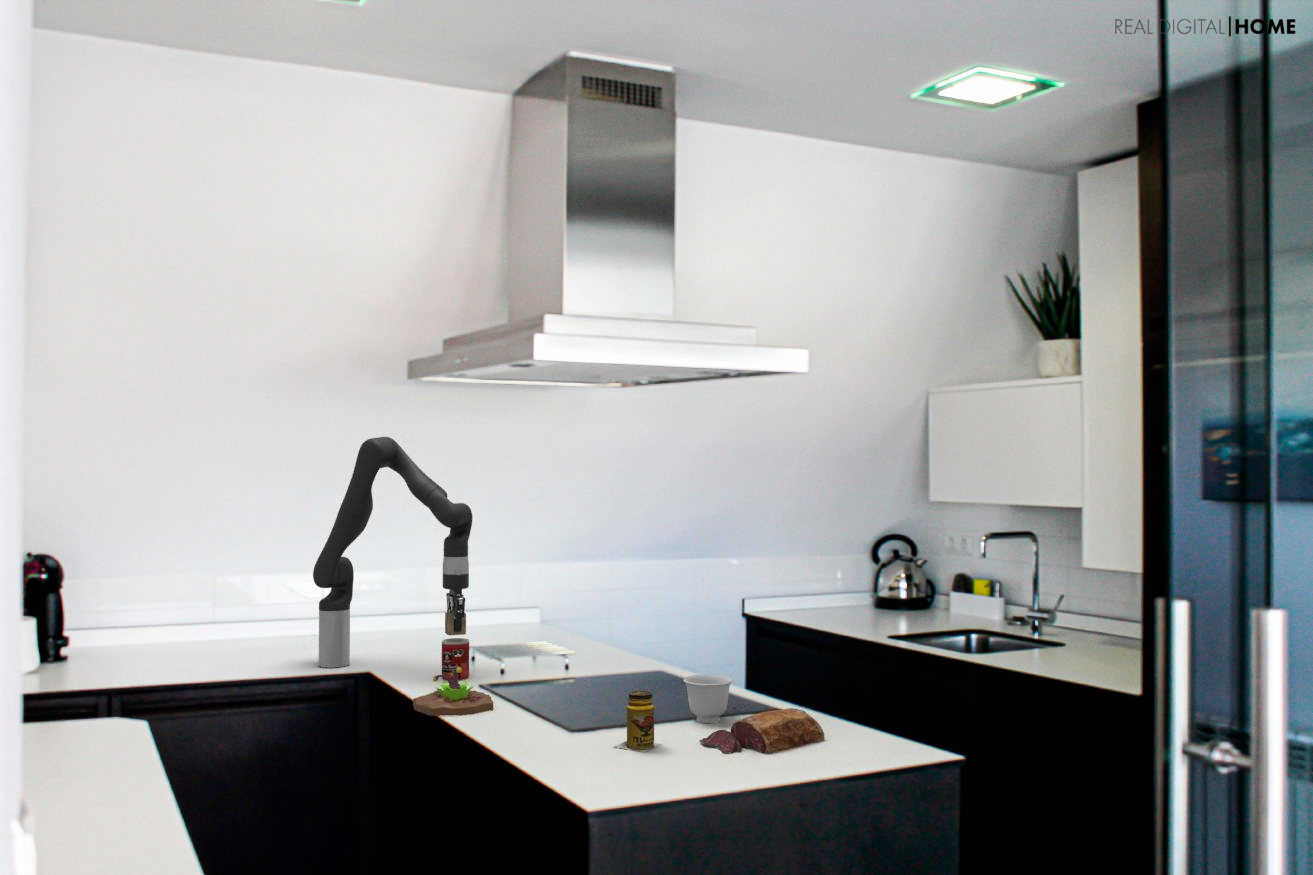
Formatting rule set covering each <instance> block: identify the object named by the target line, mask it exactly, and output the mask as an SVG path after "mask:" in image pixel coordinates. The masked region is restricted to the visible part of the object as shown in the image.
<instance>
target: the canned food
mask: <svg viewBox="0 0 1313 875" xmlns="http://www.w3.org/2000/svg"><path fill="white" fill-rule="evenodd" d="M456 666H460V667H461V669H462V671H461V673H457V678H458V681H464V680H467V679H469V676H470V639H468V638H462V637H459V638H458V637H454V638H452V637H451V638H445V639H443V640H441V675H445V676H447V677H448V678H449V679H451V680H453V676H452V675H451V673H450V672H451V669H454V670H455V667H456ZM441 679H442V680H445V681H447V680H446V679H445V678H443V677H441ZM463 679H464V680H463Z"/></svg>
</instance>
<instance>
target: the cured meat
mask: <svg viewBox="0 0 1313 875" xmlns="http://www.w3.org/2000/svg"><path fill="white" fill-rule="evenodd" d="M730 727H731V728H730V731H728V730H726V729H718V730H715V731H714V732H711V733H710V734H709V735H708V736H707V737H704V738H702V739H699V743H700V744H702V745H704V746H707V747H710V748H714V749H715V748H716V749H718V750H720V751H721V752H722V753H723V754H728V755H729V754H733V753H739V754H740V753H741V751H742V749H749V748H754V749H757V750H758V751H759V752H760V754H764V755H769V754H773V753H777V752H783V751H787V750H791V749H795V748H799V747H801V746H805V745H807V744H813V743H818V742H821V741H822V742H823V741H825V731H824V730H823V728H822V726H821V725H820V724H819V722H818V721H817V720H816V719H815V718H813V717H812V716H811V715H810V714H809V713H807V712H806V711H805V710H803V709H798V708H791V707H790V708H789V707H788V708H785V709H784V708H783V709H777V710H769V711H768V710H766V711H762V712H759V713H756V714H753V715H749V716H746V717H743V718H742V719H739V720H738V721H735V722H733V724H731V726H730Z"/></svg>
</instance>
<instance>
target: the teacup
mask: <svg viewBox="0 0 1313 875" xmlns="http://www.w3.org/2000/svg"><path fill="white" fill-rule="evenodd" d="M683 682H684V683H685V685H686V689H687V690H686V691H687V698H688V705H689V709H690V711H691V712H692V713H691V714H694V715H695V716H696V721H697V722H699V723H704V724H714V723H715V724H716V723H718V722H720V721H721V718H720V716H723V714H725V713H726V711H727V707H728V702H729V694H730V693H729V692H730V686H731V683H733V678H731V677H729V676H727V675H721V674H720V675H719V674H693V675H689V676H686V677H685V678H683Z"/></svg>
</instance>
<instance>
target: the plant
mask: <svg viewBox="0 0 1313 875" xmlns="http://www.w3.org/2000/svg"><path fill="white" fill-rule="evenodd" d="M461 671H462V669H461V667H460V666H456V667H455V670H454V669H451V672H450V673H451V675H452V676H453V680H451V679H449V678H448V677H447V676H445V675H442V674H437V675H435V676H433V677H432V682H438V681H439V678H442V677H443V678H445V679H446V680H445V681H447V682H448V683H446V682H441V684H439V686H440V687H441V688H440V687H437V686H435V687H434V688H435V690H434V691H433V692H430V693H427V694H425V695H419V696H418V697H414V698H413V699H412V706H413V710H414V711H416V712H419V713H421V714H424V715H427V716H431V717H439V716H440V715H459V716H468V714H469V715H475V713H476V714H479V713H483V712H490V711H489V710H491V711H493V710H494V701H493V699H492V696H490V694H486V693H485V692H481V691H477V690H472V689H473V688H474V687H475V685H471V686H469V687H468V685H469V682H468V681H463V682H461V683H459V680H458V678H457V673H461ZM443 678H442V679H443ZM467 687H468V688H467ZM440 717H441V716H440Z"/></svg>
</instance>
